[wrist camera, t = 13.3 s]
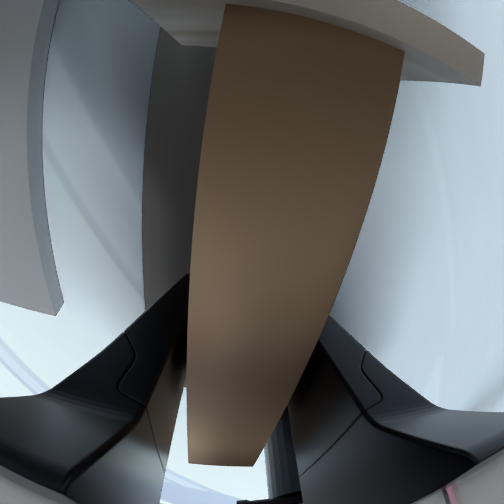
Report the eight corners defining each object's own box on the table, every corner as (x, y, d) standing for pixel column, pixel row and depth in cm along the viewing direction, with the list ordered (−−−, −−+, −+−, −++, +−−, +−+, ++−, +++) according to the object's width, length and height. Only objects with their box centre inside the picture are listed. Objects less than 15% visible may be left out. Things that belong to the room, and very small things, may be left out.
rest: (279, 385, 16) (280, 392, 15) (155, 375, 15) (153, 382, 14) (379, 44, 7) (386, 42, 7) (169, 4, 7) (166, 0, 6)
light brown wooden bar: (274, 390, 13) (284, 474, 9) (167, 381, 12) (155, 467, 8) (371, 61, 6) (484, 53, 3) (186, 25, 6) (132, -42, 2)
